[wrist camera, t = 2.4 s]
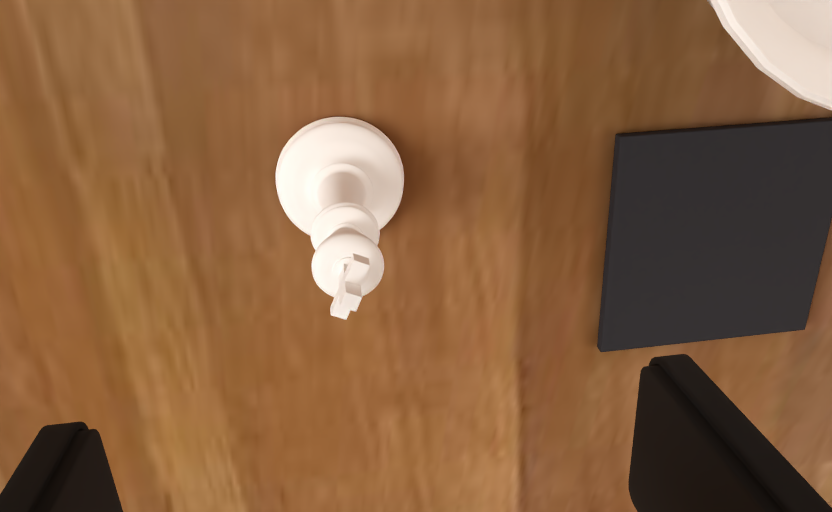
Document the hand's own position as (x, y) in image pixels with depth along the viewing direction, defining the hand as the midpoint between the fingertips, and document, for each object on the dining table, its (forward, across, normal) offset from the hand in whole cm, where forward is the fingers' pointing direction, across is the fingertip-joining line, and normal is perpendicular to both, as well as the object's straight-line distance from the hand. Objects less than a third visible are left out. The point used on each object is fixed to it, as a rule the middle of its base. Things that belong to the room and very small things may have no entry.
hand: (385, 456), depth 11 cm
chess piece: (+16, 0, 0) cm, 16 cm away
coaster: (+16, -16, +4) cm, 23 cm away
